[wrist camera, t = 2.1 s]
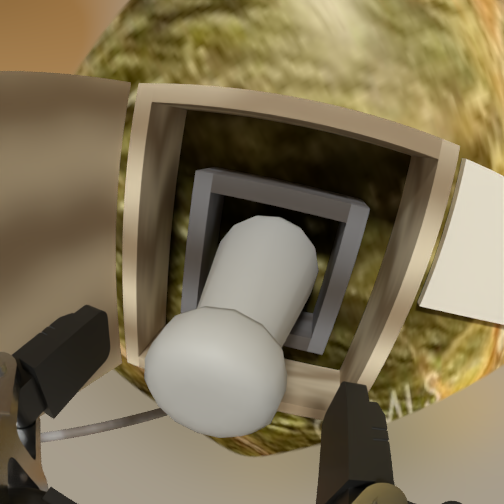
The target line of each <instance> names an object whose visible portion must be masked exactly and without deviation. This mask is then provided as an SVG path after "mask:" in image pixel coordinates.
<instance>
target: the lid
mask: <svg viewBox="0 0 504 504" xmlns="http://www.w3.org/2000/svg"><path fill="white" fill-rule="evenodd" d="M130 86H131V83H130V82H124V81H118V80H111V79H104V78H97V77H89V76H80V75H71V74H60V73H45V72H23V71H0V352H6V353H9V354H10V355H12V354H13V353H15V352H16V351H17V350H18V349H20V348H21V347H22V346H23V345H25V344H26V343H27V342H28V341H30V340H31V339H32V338H33V337H35V336H36V335H37V334H38V333H42V330H44V329H45V328H46V327H47V326H48V327H49V326H50V324H51V323H53V322H54V321H55V320H57V319H58V318H59V317H62V316H65V315H67V314H70V313H75V312H76V311H78V310H79V309H80V308H82V307H83V306H84V305H90V306H93V307H95V308H98V309H100V310H103V311H105V312H106V313H107V316H108V325H109V336H110V353H109V356H108V358H107V360H106V361H105V363H104V364H103V365H102V366H101V367H100V368H99V369H98V370H97V371H96V372H95V373H94V375H93V376H92V377H91V378H90V379H89V380H88V381H87V382H86V383H85V384H84V386H83V387H82V388H81V389H83V388H85V387H86V386H88V385H89V384H91V383H92V382H94V381H96V380H97V379H99V378H100V377H102V376H103V375H104V374H106V373H108V372H109V371H111V370H112V369H114V368H115V367H117V366H118V365H120V364H121V363H122V360H121V350H120V340H119V328H118V314H117V295H116V211H117V193H118V178H119V167H120V156H121V147H122V138H123V131H124V123H125V116H126V110H127V103H128V97H129V92H130ZM81 389H80V390H81ZM80 390H79V391H80ZM79 391H78V392H79ZM43 414H44V412H42V413H41V415H43ZM41 415H40V416H41ZM40 416H39V417H40Z"/></svg>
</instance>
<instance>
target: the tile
mask: <svg viewBox="0 0 504 504" xmlns="http://www.w3.org/2000/svg"><path fill="white" fill-rule="evenodd" d="M418 304H419V306H421V307H425V308H430V309H434V310H439V311H443V312H448V313H452V314H457V315H461V316H466V317H470V318H475V319H479V320H484V321H489V322H493V323H498V324H503V325H504V176H502V175H500V174H498V173H496V172H494V171H492V170H490V169H488V168H485V167H483V166H481V165H479V164H477V163H474V162H472V161H470V160H468V159H463V158H462V161H461V166H460V171H459V175H458V179H457V184H456V188H455V192H454V196H453V200H452V203H451V207H450V210H449V214H448V217H447V221H446V224H445V227H444V231H443V234H442V237H441V240H440V243H439V246H438V249H437V252H436V255H435V258H434V261H433V263H432V266H431V269H430V271H429V274H428V277H427V279H426V282H425V284H424V287H423V289H422V292H421V294H420V297H419V299H418Z"/></svg>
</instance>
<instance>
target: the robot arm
mask: <svg viewBox="0 0 504 504" xmlns="http://www.w3.org/2000/svg"><path fill="white" fill-rule="evenodd" d="M109 353H110V336H109V325H108V316H107V313H106V312H105V311H103V310H100V309H98V308H95V307H93V306H90V305H84V306H83V307H82V308H80V309H79V310H78V311H76V312H75V313H70V314H67V315H65V316H62V317H59V318H58V319H57V320H55V321H54V322H53V323H51V324H50V326H49V327H48V326H47V327H46V328H45V329H44V330H42V333H38V334H37V335H36V336H35V337H33V338H32V339H31V340H30V341H28V342H27V343H26V344H25V345H23V346H22V347H21V348H20V349H18V350H17V351H16V352H15V353H13V354H12V355H10V354H9V353H6V352H0V504H77V503H75V502H74V501H72V500H70V499H69V498H67V497H66V496H64V495H63V494H61V493H59V492H58V491H57V490H55V489H53V488H52V487H50V488H49V489H48V484H47V480H46V477H45V475H44V472H43V469H42V464H41V442H40V418H39V416H40V415H41V413H42V412H44V413H46V414H47V415H49V416H50V417H52V418H55V417H56V416H57V415H58V414H59V412H60V411H61V410H62V409H63V408H64V407H65V406H66V405H67V403H68V402H69V401H70V400H71V399H72V398H73V397H74V396H75V394H76V393H77V392H78V391H79V390H80V389H81V388H82V387H83V386H84V384H85V383H86V382H87V381H88V380H89V379H90V378H91V377H92V376H93V375H94V373H95V372H96V371H97V370H98V369H99V368H100V367H101V366H102V365H103V364H104V363H105V361H106V360H107V358H108V356H109ZM388 440H389V438H388V431H387V424H386V418H385V414H384V413H383V411H382V409H381V408H380V406H379V405H378V403H376V402H369V397H368V390H367V386H366V385H364V384H358V383H352V382H346V381H343V382H342V383H341V384H340V386H339V388H338V390H337V392H336V394H335V396H334V398H333V400H332V402H331V404H330V406H329V407H328V409H327V411H326V414H325V416H324V419H323V424H322V432H321V450H320V464H319V477H318V487H317V498H316V504H414V503H411V502H409V501H407V498H406V497H405V495H404V493H403V492H402V491H401V490H400V489H399V488H398V487H396V486H395V485H394V481H393V471H392V461H391V453H390V445H389V442H388ZM442 504H461V503H460V502H457V501H448V502H444V503H442Z"/></svg>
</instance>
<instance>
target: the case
mask: <svg viewBox="0 0 504 504" xmlns="http://www.w3.org/2000/svg"><path fill="white" fill-rule="evenodd" d="M187 110H195V111H205V112H214V113H222V114H230V115H238V116H245V117H251V118H258V119H264V120H270V121H275V122H281V123H286V124H291V125H296V126H301V127H306V128H311V129H315V130H320V131H324V132H329V133H333V134H337V135H341V136H345V137H349V138H353V139H356V140H360V141H364V142H367V143H371V144H374V145H378V146H381V147H385V148H388V149H391V150H394V151H398V152H401V153H404V154H407V155H410V156H411V160H410V164H409V169H408V173H407V177H406V182H405V186H404V190H403V194H402V197H401V201H400V205H399V209H398V212H397V216H396V220H395V223H394V226H393V230H392V233H391V237H390V240H389V243H388V246H387V249H386V253H385V256H384V259H383V262H382V265H381V268H380V271H379V274H378V276H377V279H376V282H375V285H374V288H373V290H372V293H371V296H370V299H369V301H368V304H367V306H366V309H365V312H364V314H363V317H362V319H361V322H360V324H359V327H358V329H357V332H356V334H355V336H354V339H353V341H352V343H351V346H350V348H349V350H348V353H347V355H346V357H345V359H344V362H343V364H342V366H341V368H340V370H335V369H330V368H325V367H320V366H315V365H311V364H306V363H302V362H297V361H293V360H289V359H284V360H285V366H286V371H287V386H286V391H285V393H284V396H283V398H282V400H281V402H280V405H279V407H278V409H277V411H280V412H285V413H289V414H294V415H299V416H304V417H309V418H314V419H320V420H323V419H324V416H325V414H326V411H327V409H328V407H329V406H330V404H331V402H332V400H333V398H334V396H335V394H336V392H337V390H338V388H339V386H340V384H341V383H342V382H343V381H346V382H352V383H358V384H364V385H366V386H367V390H368V392H369V390H370V388H371V386H372V385H373V383H374V381H375V379H376V377H377V376H378V374H379V372H380V370H381V368H382V366H383V364H384V363H385V361H386V359H387V357H388V355H389V353H390V351H391V349H392V347H393V345H394V343H395V341H396V339H397V337H398V334H399V332H400V330H401V328H402V326H403V324H404V321H405V319H406V317H407V315H408V312H409V310H410V308H411V306H412V303H413V301H414V298H415V296H416V294H417V291H418V289H419V286H420V284H421V281H422V278H423V276H424V273H425V270H426V268H427V265H428V262H429V259H430V257H431V254H432V251H433V248H434V245H435V242H436V239H437V236H438V232H439V229H440V226H441V223H442V219H443V216H444V212H445V209H446V205H447V202H448V198H449V194H450V190H451V186H452V182H453V178H454V173H455V169H456V164H457V159H458V154H459V149H460V146H459V145H456V144H454V143H451V142H449V141H446V140H444V139H441V138H439V137H436V136H434V135H431V134H428V133H426V132H423V131H420V130H417V129H414V128H411V127H409V126H406V125H403V124H400V123H396V122H393V121H390V120H387V119H384V118H380V117H377V116H373V115H370V114H366V113H363V112H359V111H355V110H351V109H347V108H343V107H339V106H335V105H331V104H326V103H322V102H317V101H313V100H308V99H303V98H297V97H292V96H286V95H280V94H274V93H268V92H261V91H253V90H246V89H237V88H228V87H217V86H205V85H189V84H159V83H139V85H138V91H137V96H136V102H135V109H134V115H133V122H132V129H131V136H130V144H129V153H128V163H127V173H126V185H125V200H124V218H123V308H124V327H125V341H126V353H127V362H128V363H131V364H133V365H135V366H138V367H140V368H143V369H145V357H146V355H147V352H148V350H149V348H150V346H151V344H152V343H153V341H154V340H155V339H156V338H157V336H158V335H159V334H160V332H161V331H162V330H163V329H164V327H165V326H166V302H167V283H168V267H169V253H170V240H171V229H172V218H173V208H174V199H175V190H176V182H177V174H178V166H179V159H180V152H181V145H182V138H183V132H184V125H185V119H186V113H187ZM225 195H227V196H232V197H236V198H241V199H246V200H251V201H255V202H260V203H264V204H269V205H273V206H278V207H282V208H287V209H291V210H295V211H300V212H304V213H308V214H312V215H316V216H320V217H325V218H329V219H333V220H337V221H339V225H338V229H337V233H336V237H335V240H334V244H333V248H332V251H331V255H330V259H329V262H328V266H327V269H326V273H325V276H324V279H323V283H322V286H321V289H320V293H319V296H318V299H317V302H316V306H315V309H314V312H313V313H308V312H304V311H301V313H300V315H299V317H298V318H297V320H296V322H295V324H294V326H293V328H292V330H291V331H290V333H289V335H288V337H287V339H286V341H285V342H284V344H283V346H286V347H290V348H295V349H299V350H303V351H308V352H312V353H317V354H321V355H322V354H323V352H324V349H325V346H326V344H327V341H328V339H329V336H330V333H331V331H332V328H333V325H334V323H335V320H336V317H337V314H338V311H339V309H340V306H341V303H342V300H343V297H344V294H345V291H346V288H347V285H348V282H349V279H350V276H351V273H352V270H353V267H354V263H355V260H356V257H357V254H358V250H359V247H360V244H361V240H362V237H363V233H364V230H365V226H366V222H367V219H368V215H369V211H370V208H369V207H368V206H367V205H366V204H365V202H364V201H363V200H362V199H359V198H355V197H351V196H347V195H343V194H339V193H335V192H331V191H327V190H323V189H319V188H315V187H311V186H306V185H302V184H298V183H293V182H289V181H284V180H279V179H275V178H270V177H265V176H260V175H255V174H250V173H245V172H240V171H234V170H229V169H224V168H218V167H210V168H206V169H201V170H196V172H195V179H194V186H193V194H192V202H191V210H190V218H189V227H188V236H187V246H186V256H185V266H184V277H183V289H182V302H181V313H184V312H188V311H191V310H194V309H197V307H198V304H199V301H200V298H201V295H202V292H203V289H204V286H205V284H206V281H207V278H208V275H209V272H210V269H211V266H212V264H213V261H214V258H215V255H216V252H217V245H218V238H219V231H220V225H221V218H222V211H223V205H224V198H225ZM163 416H167V414H166V413H165V412H164V411H163V410H162V409H161V408H159V409H155V410H152V411H148V412H144V413H141V414H136V415H132V416H128V417H124V418H120V419H115V420H111V421H106V422H101V423H97V424H92V425H87V426H82V427H76V428H71V429H64V430H58V431H51V432H44V433H40V442H48V441H55V440H61V439H68V438H74V437H79V436H85V435H89V434H95V433H99V432H104V431H108V430H113V429H117V428H122V427H126V426H129V425H134V424H138V423H142V422H145V421H149V420H153V419H156V418H160V417H163Z"/></svg>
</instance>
